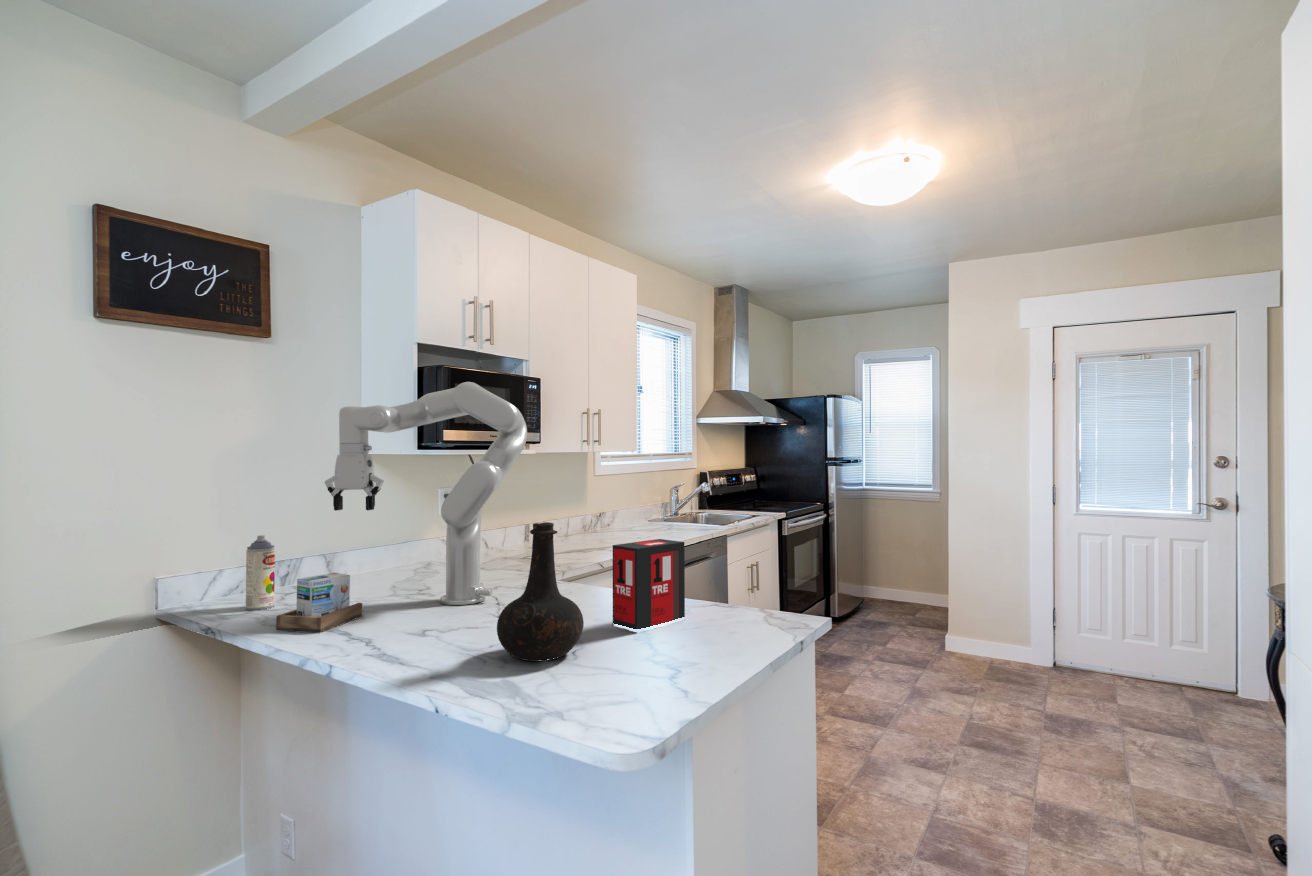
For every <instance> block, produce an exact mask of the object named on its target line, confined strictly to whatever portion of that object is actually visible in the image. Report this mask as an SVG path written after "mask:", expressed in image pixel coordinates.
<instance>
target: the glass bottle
mask: <svg viewBox="0 0 1312 876" xmlns="http://www.w3.org/2000/svg"><path fill="white" fill-rule="evenodd" d="M554 526H555V525H554V523H553V522H547V521H546V522H540V523H539V522H535V523H533V524H532V529H531V530H530V531H529V534H531V535H532V546H531V547H532V549H531V558H530V566H529V572H528V578H527V583H526V585H525V589H524V592H523V593H522V594H521V595H520V596H519V597H518V598H516V599H514V600H512V601H511V602H509V603H508V604H507V605H506V606H505V607H503V609H502V610H501V612H500V615H499V616H498V619H497V622H496V634H497V637H498V641H499V643H500V644H501V646H502V647H503V649H504V650H505V651H506V652H507V653H509V655H511V656H512V657H514V658H517V659H519V660H523V659H524V660H523V661H528V660H547V659H553V658H557V657H560V656H562V657H564V656H565V655H567V654H568V653H569V652H570V651H571V650H572V649H573V648H574V647H575V645H576V644H578V642H579V640H580V638H581V636H582V633H583V631H584V622H585V621H584V617H583V613H582V611H581V608H580V607H579V606H578V605H577V604H576V603H575V602H574V601H573V600H572V599H569V598H568V597H566V596H564V595H562V594H561V593H560V590H559V587H558V584H557V578H556V575H557V574H556V568H555V567H556V565H555V564H556V563H555V548H554V545H555V543H554V535H556V534H558V533H559V532H558V531H557V530H556V529H554ZM563 655H564V656H563ZM560 658H561V657H560Z"/></svg>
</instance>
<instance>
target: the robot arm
mask: <svg viewBox="0 0 1312 876" xmlns="http://www.w3.org/2000/svg"><path fill="white" fill-rule="evenodd" d="M338 414H339V415H338V435H339V438H338V440H339V441H338V442H339V444H338V446H339V447H338V452H339V454H338V455H337V456H336V461H335V465H334V475H333V476H331V477H330V478H328V479H326V480H325V481H324V485H325V487H326V488H327V491H328V492H329V493H330V496H331V497H333V499H332V500H333V503H332V504H333V511H342V510H343V509H344V497H343V495H342V494H343V492H344V491H347V490H348V491H349V490H353V491H354V490H355V491H356V490H357V491H358V490H363V492H365V494H366V496H365V511H373V510H375V506H376V496H377V494H378V493H379V492H380V490H381V489H382V486H383V485H384V480H383V479H382V478H380V477H378V476H377V475H376V474H375V467H374V466H375V465H374V461H373V456H372V454H369V453H370V451H372V450H373V446H372V445H370V444H369V432H378V433H385V434H387V433H395V432H399V431H403V430H408V429H412V428H416V427H421V426H425V425H431V424H434V423H437V422H441V421H442V422H443V421H446V420H450V419H454V418H459V417H463V416H464V417H465V416H467V415H468V416H471V417H473V418H475V419H476V420H478V421H480V422H481V423H483V424H485V425H487V426H489V427H490V428H493V429H495V430H496V431H497V432H498V433H497V436H496V437H495V440H494V441H493V442H492V443H491V444H490V446H489V448H488V449H487V451H485V453H484V455H483V456H482V457H481V458H480V459H479V460H478V462H475V463H473V464H471V465H470V466H468V468H467V469H466V470H465V472H464V473H463V474H462V475H461V477H460V478H459V480H458V481H457V483H456V484H455V485H454V486H453V488H452V489H451V490H450V492H449V493H448V495H447V496H446V497H445V499H444V501H443V502H442V504H441V507H440V514H441V519H442V520H443V522H444V523H445V524H446V539H445V540H446V541H445V544H446V545H445V594H444V595H442V596H441V597H440V598H439V599H440V600H439V601H440V603H441V604H442V605H443V604H444V605H450V606H465V605H473V604H478V603H481V602H484V601H485V600H486V596H487V597H492V595H493V589H492V588H491V587H488V588H487V587H486V588H485V587H484V583H481V529H482V528H481V527H482V508H483V507H484V505H485V504H486V502H487V501H488V500H489V499H490V497H491V495H492V494H494V492H495V491H496V490H498V488H499V487H500V485H501V484H502V482H503V480H504V478H505V477H506V475H507V474H508V473H509V471H510V470H511V468H512V467H513V465H514V464H515V462H516V461H517V459H518V458H519V457H520V455H521V454H522V451H523V450H524V448H525V445H526V442H527V440H528V427H527V423H526V420H525V419H524V416H523V414H522V413H521V411H520V410H519V408H518V407H516V406H515V405H514V403H513V404H512V403H511V402H509V401H507V400H506V399H503V398H502V397H500V396H498V395H496V394H494V393H492V392H490V391H489V390H487V389H485V388H484V387H482V386H481V385H479V384H477V383H476V382H473V381H472V382H471V381H466V382H461V383H459V384H458V385H456V387H452V388H448V389H443V390H438V391H434V392H429V393H426V394H424V395H423V396H421V397H419V398H418V399H416V400H414V401H411V402H408V403H403V404H398V405H395V406H390V407H389V406H385V405H379V404H378V405H377V404H376V405H372V406H371V405H369V406H343V407H341V408H339V413H338ZM333 483H334V484H333Z"/></svg>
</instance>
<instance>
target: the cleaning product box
mask: <svg viewBox="0 0 1312 876" xmlns="http://www.w3.org/2000/svg"><path fill="white" fill-rule="evenodd" d="M685 558H686V557H685V542H684V541H679V540H671V539H663V538H656V539H650V540H649V539H648V540H643V541H641V540H640V541H635V542H627V543H626V542H625V543H619V544H618V543H617V544H613V545H612V624H613V623H614V624H618V625H622V626H626V627H629V628H633V629H641V628H646V627H650V626H653V625H658V624H661V623H665V622H669V621H672V620H675V619H678V618H682V617H686V615H685V614H686V607H685V606H686V604H685V603H686V602H685V601H686V600H685V599H686V598H685V594H686V593H685V592H686V591H685V588H686V587H685V584H686V583H685V580H686V579H685V577H686V576H685Z"/></svg>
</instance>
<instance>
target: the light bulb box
mask: <svg viewBox="0 0 1312 876" xmlns="http://www.w3.org/2000/svg"><path fill="white" fill-rule="evenodd" d="M350 583H351V575H350V574H345V573H340V572H329V573H325V574H319V575H313V576H307V577H302V578H300V577H299V578H297V579H296V609H297V614H296V616H314V617H321V616H323V615H326V614H329V613H332V612H334V611H337V610H340V609H343V608H345V607H348V606H350V597H351V596H350V592H351V591H350V589H351V588H350V587H351V586H350V585H351V584H350Z"/></svg>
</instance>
